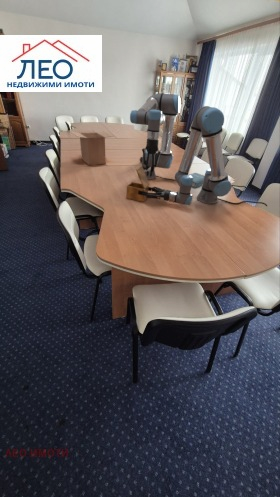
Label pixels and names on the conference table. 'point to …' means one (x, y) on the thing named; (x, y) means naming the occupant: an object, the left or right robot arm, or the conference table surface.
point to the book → (197, 179)
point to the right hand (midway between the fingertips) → (140, 189)
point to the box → (92, 146)
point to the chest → (136, 191)
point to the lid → (143, 176)
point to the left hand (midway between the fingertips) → (149, 175)
